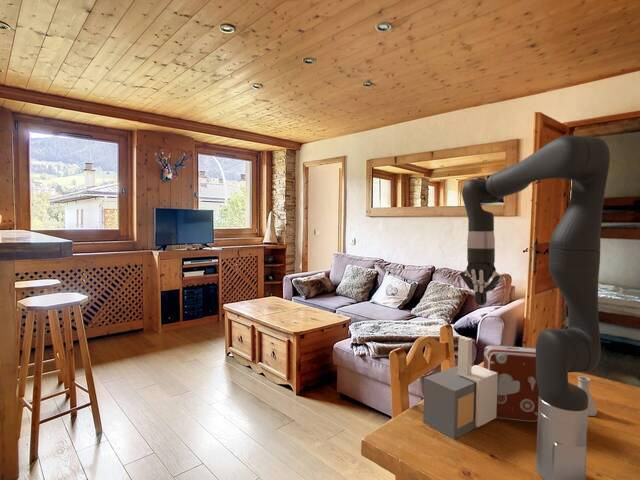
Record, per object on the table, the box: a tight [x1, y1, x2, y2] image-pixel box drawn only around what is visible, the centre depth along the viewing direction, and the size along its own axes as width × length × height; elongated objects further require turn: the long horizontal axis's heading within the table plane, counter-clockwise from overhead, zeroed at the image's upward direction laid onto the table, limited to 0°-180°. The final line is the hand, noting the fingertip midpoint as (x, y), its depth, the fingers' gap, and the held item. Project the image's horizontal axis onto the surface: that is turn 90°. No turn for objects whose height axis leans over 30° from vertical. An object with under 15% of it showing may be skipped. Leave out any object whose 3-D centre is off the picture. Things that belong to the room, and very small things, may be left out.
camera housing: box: [422, 365, 477, 441], centre depth 106 cm, size 20×10×13 cm, turn 125°
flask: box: [577, 375, 598, 417], centre depth 112 cm, size 7×7×10 cm
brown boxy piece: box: [483, 344, 539, 423], centre depth 109 cm, size 9×19×20 cm, turn 78°
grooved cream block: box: [457, 336, 498, 428], centre depth 106 cm, size 9×7×23 cm
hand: (480, 304), depth 111 cm, fingers closed
